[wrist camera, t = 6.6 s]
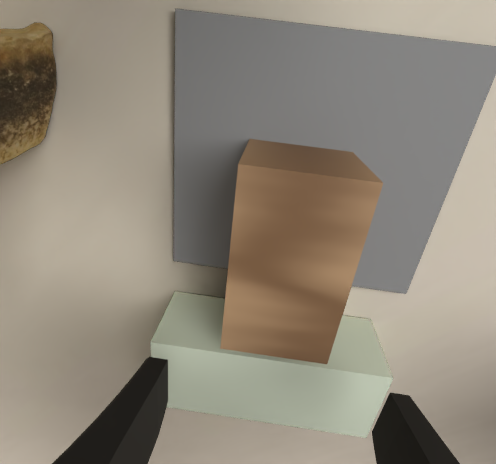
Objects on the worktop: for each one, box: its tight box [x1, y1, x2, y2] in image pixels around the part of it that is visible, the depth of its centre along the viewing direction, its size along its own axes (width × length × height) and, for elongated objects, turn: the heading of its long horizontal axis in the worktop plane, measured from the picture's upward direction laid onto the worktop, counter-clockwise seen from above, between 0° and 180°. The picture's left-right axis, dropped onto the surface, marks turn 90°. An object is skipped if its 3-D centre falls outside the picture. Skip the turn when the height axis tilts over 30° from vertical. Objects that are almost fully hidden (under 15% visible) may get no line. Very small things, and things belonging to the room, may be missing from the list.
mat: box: [174, 9, 496, 294], centre depth 13 cm, size 11×10×1 cm
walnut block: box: [220, 139, 383, 364], centre depth 12 cm, size 4×4×7 cm
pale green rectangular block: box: [150, 291, 393, 438], centre depth 16 cm, size 10×4×4 cm, turn 83°
